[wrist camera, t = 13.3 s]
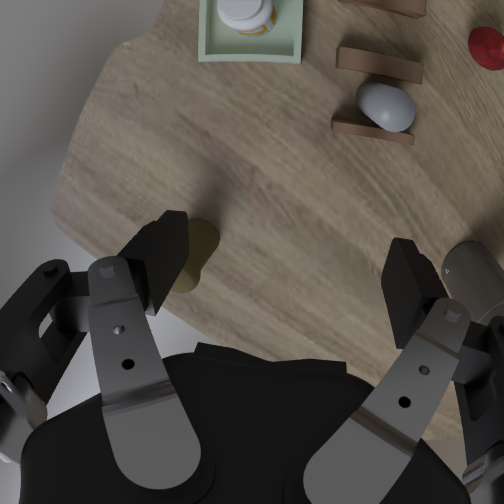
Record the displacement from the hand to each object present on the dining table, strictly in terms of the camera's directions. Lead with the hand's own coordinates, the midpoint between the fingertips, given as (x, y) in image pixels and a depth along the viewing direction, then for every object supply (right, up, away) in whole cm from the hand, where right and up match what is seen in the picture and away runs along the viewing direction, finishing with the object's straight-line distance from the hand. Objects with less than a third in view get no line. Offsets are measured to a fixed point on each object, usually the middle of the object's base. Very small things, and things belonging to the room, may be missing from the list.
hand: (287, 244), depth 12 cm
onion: (+28, +26, +13) cm, 40 cm away
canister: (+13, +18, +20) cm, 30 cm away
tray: (-1, +27, +17) cm, 32 cm away
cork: (-9, +2, +35) cm, 36 cm away
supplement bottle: (-1, +27, +17) cm, 32 cm away
